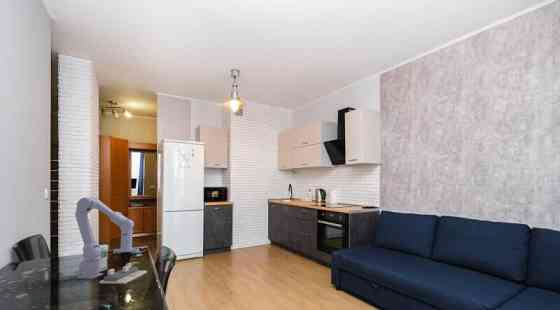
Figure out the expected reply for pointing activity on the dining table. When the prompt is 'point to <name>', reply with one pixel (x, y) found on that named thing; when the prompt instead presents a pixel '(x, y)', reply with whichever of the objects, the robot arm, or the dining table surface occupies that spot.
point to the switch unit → (123, 276)
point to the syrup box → (104, 258)
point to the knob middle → (125, 268)
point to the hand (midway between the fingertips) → (125, 266)
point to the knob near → (111, 271)
